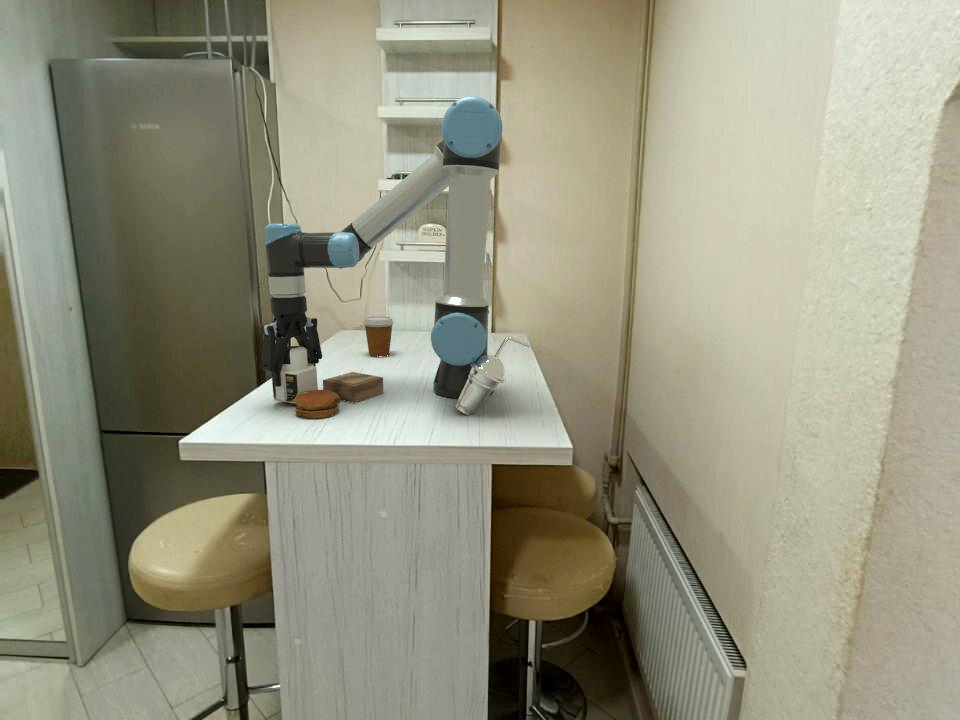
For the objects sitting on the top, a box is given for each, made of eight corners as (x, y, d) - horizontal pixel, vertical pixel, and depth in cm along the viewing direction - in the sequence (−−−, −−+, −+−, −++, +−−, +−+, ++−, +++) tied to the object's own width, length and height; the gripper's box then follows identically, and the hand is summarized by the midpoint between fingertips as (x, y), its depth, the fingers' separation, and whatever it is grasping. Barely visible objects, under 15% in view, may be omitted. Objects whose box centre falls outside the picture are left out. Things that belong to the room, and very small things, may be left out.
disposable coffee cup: (388, 359, 174) (387, 321, 171) (359, 357, 175) (358, 319, 173) (398, 353, 183) (397, 316, 180) (371, 351, 184) (370, 315, 182)
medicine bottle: (273, 400, 126) (268, 349, 123) (294, 392, 132) (290, 343, 130) (298, 404, 123) (294, 351, 121) (319, 396, 130) (315, 345, 127)
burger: (332, 420, 116) (331, 399, 115) (288, 419, 117) (287, 398, 116) (345, 406, 126) (344, 386, 125) (304, 405, 126) (303, 385, 125)
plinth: (383, 393, 136) (383, 376, 135) (354, 403, 128) (354, 385, 127) (353, 387, 141) (352, 370, 140) (323, 396, 133) (322, 379, 132)
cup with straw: (460, 401, 128) (504, 326, 125) (488, 423, 124) (535, 346, 121) (440, 398, 120) (487, 319, 118) (470, 422, 116) (519, 340, 113)
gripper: (311, 290, 133) (318, 382, 138) (236, 299, 116) (247, 404, 121) (334, 292, 129) (340, 386, 134) (260, 301, 112) (270, 409, 117)
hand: (296, 394), depth 128 cm, fingers closed on medicine bottle, 8 cm apart
